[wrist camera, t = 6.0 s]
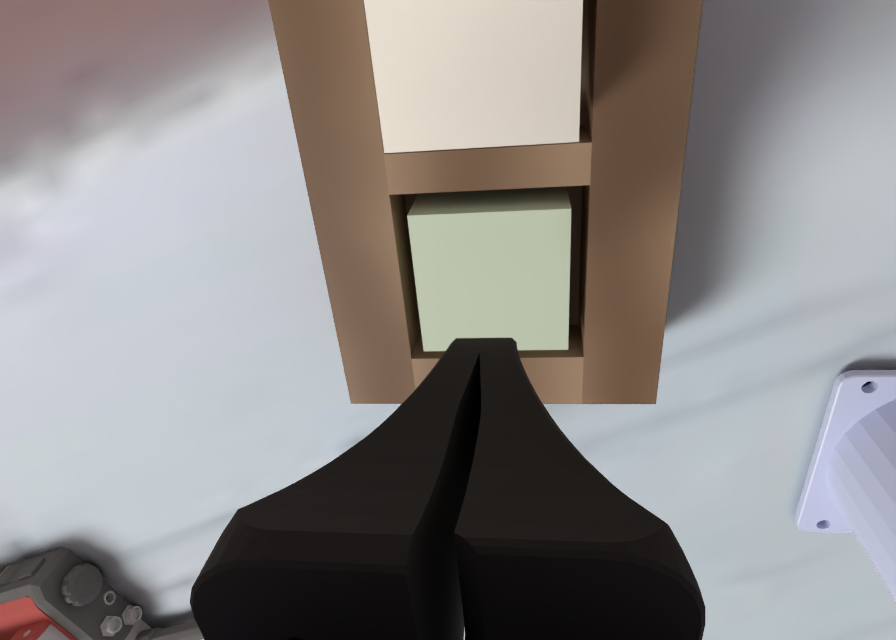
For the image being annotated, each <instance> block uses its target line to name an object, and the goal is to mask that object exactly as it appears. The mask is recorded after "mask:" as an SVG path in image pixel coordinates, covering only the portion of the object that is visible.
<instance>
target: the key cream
mask: <svg viewBox="0 0 896 640" xmlns="http://www.w3.org/2000/svg"><path fill="white" fill-rule="evenodd" d="M364 6H365V13H366V21H367V28H368V36H369V43H370V50H371V58H372V65H373V73H374V80H375V88H376V95H377V102H378V110H379V117H380V125H381V132H382V140H383V147H384V153H396V152H413V151H431V150H448V149H465V148H482V147H499V146H517V145H534V144H551V143H568V142H579V125H580V88H581V52H582V16H583V0H364Z"/></svg>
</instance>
